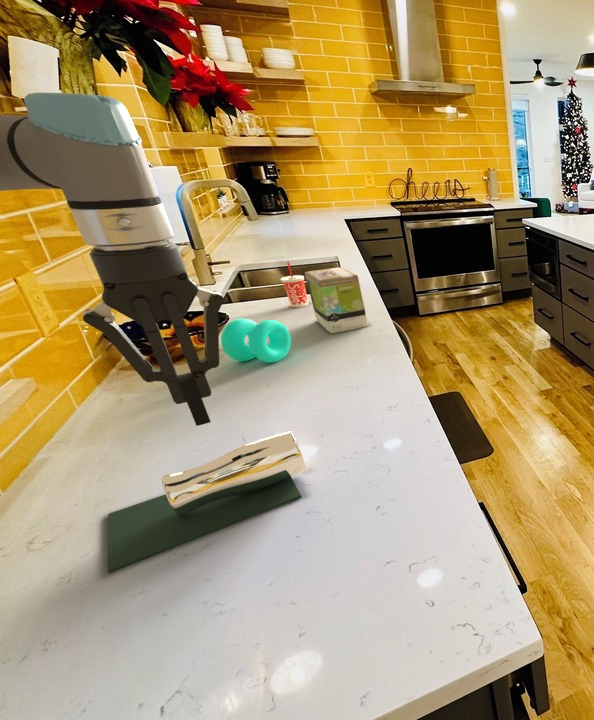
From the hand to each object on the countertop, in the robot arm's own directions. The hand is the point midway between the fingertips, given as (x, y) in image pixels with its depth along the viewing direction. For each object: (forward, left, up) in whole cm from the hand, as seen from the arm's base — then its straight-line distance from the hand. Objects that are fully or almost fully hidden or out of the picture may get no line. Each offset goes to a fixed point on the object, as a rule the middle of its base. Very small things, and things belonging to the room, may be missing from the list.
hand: (202, 420), depth 67 cm
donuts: (-57, +13, -13) cm, 60 cm away
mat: (0, -3, -13) cm, 13 cm away
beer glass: (0, -6, -9) cm, 11 cm away
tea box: (-72, +35, -13) cm, 81 cm away
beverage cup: (-101, +30, -13) cm, 106 cm away
